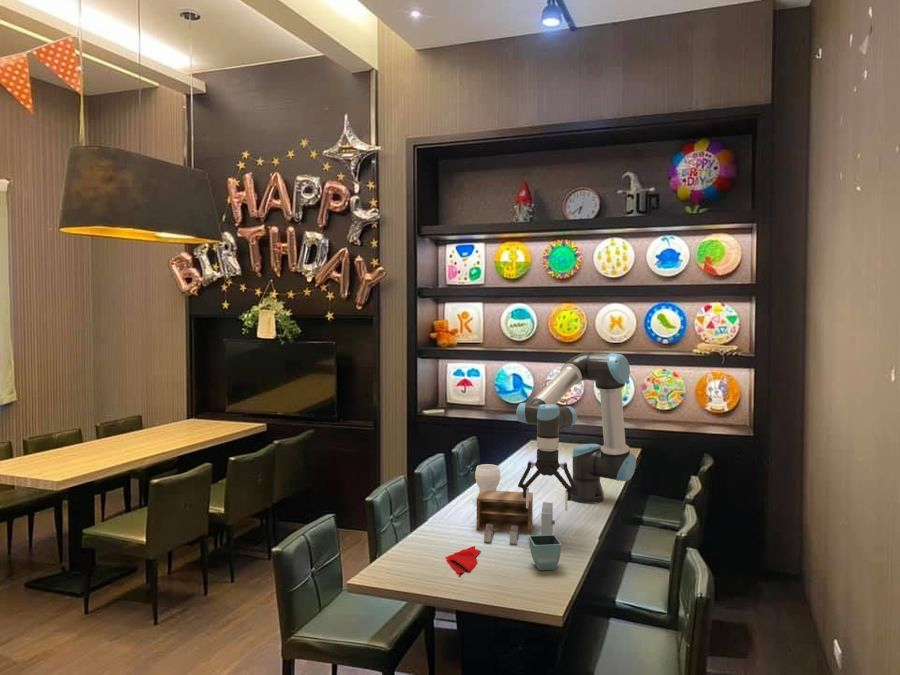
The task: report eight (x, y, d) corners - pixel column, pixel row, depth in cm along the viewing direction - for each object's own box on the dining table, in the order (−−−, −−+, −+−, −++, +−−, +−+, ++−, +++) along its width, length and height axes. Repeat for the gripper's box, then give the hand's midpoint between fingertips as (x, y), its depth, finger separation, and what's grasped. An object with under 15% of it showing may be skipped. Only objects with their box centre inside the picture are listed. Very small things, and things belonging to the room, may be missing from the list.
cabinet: (532, 523, 251) (532, 492, 250) (530, 533, 240) (531, 501, 239) (480, 520, 254) (480, 489, 254) (476, 530, 243) (476, 498, 243)
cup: (498, 506, 271) (498, 470, 270) (473, 505, 273) (473, 469, 272) (501, 499, 282) (501, 464, 281) (477, 497, 284) (477, 463, 283)
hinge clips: (519, 532, 241) (519, 520, 240) (516, 544, 229) (516, 532, 229) (488, 531, 243) (488, 519, 242) (484, 542, 231) (484, 530, 231)
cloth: (461, 545, 230) (461, 539, 230) (497, 551, 225) (498, 545, 224) (428, 573, 206) (428, 566, 206) (468, 581, 201) (468, 574, 201)
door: (542, 534, 239) (542, 502, 239) (554, 535, 238) (555, 502, 238) (541, 547, 226) (541, 513, 226) (554, 548, 226) (554, 514, 225)
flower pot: (528, 562, 214) (528, 535, 213) (554, 561, 215) (555, 534, 214) (533, 573, 205) (534, 545, 205) (561, 572, 206) (561, 544, 205)
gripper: (583, 448, 232) (582, 507, 233) (512, 444, 236) (512, 503, 237) (584, 452, 225) (583, 513, 226) (511, 449, 229) (510, 509, 230)
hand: (546, 508), depth 232 cm, fingers open, 13 cm apart
